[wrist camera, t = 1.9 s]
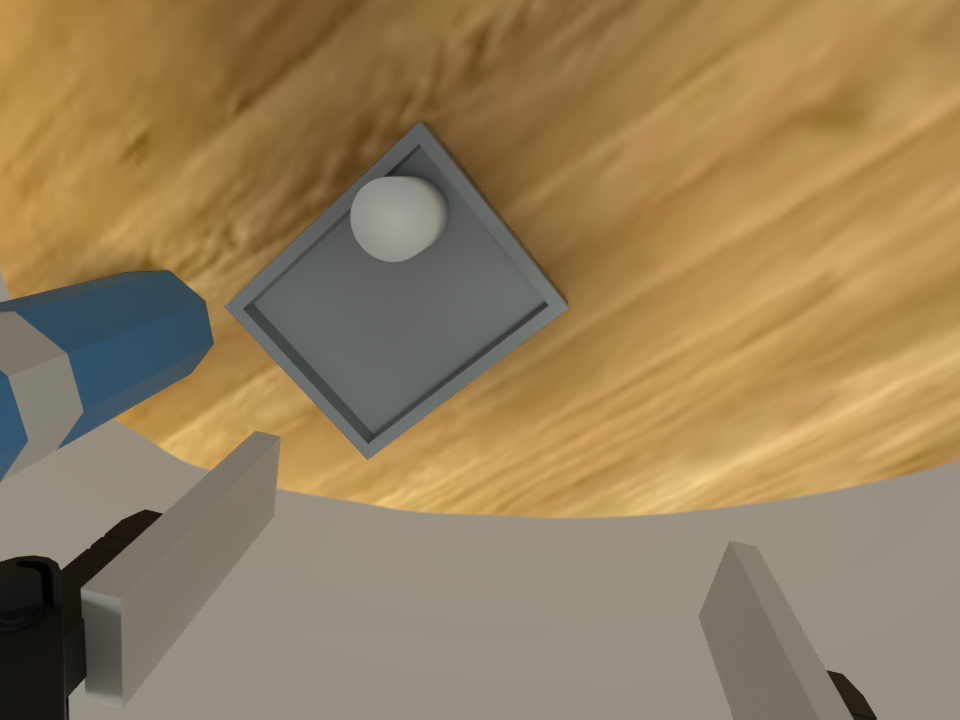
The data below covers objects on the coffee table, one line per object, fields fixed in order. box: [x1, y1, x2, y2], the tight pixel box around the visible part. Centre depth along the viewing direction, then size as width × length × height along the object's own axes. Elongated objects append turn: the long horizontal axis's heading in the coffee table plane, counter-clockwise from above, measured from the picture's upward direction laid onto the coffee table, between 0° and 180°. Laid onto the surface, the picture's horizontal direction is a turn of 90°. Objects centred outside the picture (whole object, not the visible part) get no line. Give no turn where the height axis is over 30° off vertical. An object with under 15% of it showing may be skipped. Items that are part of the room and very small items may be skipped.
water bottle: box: [0, 271, 214, 482], centre depth 35 cm, size 9×9×25 cm
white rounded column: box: [350, 176, 450, 262], centre depth 38 cm, size 5×5×7 cm
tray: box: [225, 121, 569, 460], centre depth 43 cm, size 16×20×2 cm
